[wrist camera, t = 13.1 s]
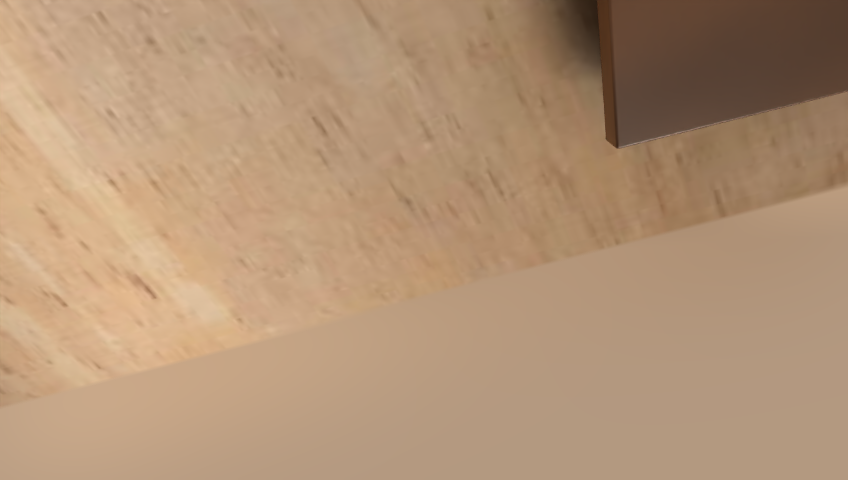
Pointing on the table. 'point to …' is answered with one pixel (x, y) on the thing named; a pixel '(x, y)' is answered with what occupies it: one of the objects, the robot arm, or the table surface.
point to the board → (714, 61)
